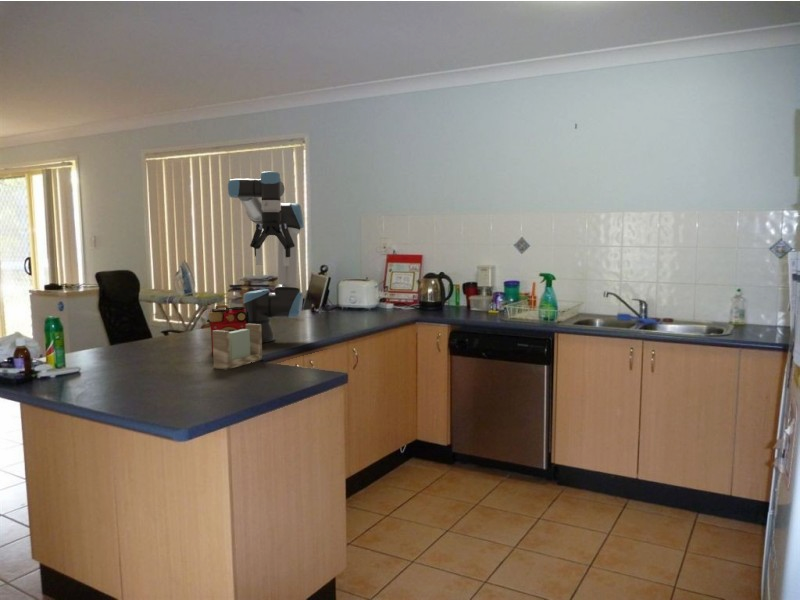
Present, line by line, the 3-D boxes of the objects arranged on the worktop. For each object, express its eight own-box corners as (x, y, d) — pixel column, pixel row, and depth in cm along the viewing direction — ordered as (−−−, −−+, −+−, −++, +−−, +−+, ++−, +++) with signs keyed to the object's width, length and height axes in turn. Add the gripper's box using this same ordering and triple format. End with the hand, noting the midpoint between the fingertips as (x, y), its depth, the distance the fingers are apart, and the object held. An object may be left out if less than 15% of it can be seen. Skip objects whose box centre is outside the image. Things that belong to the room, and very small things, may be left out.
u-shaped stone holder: (250, 358, 250) (248, 323, 248) (262, 359, 247) (261, 324, 246) (213, 368, 232) (212, 330, 231) (226, 369, 229) (225, 331, 228)
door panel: (244, 359, 245) (243, 328, 243) (250, 360, 243) (249, 329, 242) (226, 364, 236) (225, 332, 235) (232, 365, 235) (231, 333, 233)
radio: (210, 356, 253) (208, 307, 251) (210, 352, 263) (209, 304, 260) (250, 354, 257) (248, 306, 255) (249, 350, 267) (248, 303, 265)
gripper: (240, 211, 250) (242, 265, 252) (290, 210, 239) (292, 266, 241) (252, 212, 257) (254, 264, 259) (302, 211, 245) (303, 265, 248)
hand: (272, 265), depth 250 cm, fingers open, 13 cm apart
